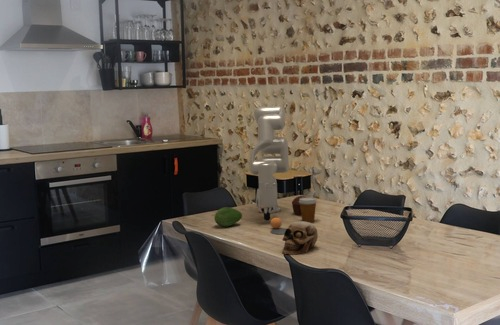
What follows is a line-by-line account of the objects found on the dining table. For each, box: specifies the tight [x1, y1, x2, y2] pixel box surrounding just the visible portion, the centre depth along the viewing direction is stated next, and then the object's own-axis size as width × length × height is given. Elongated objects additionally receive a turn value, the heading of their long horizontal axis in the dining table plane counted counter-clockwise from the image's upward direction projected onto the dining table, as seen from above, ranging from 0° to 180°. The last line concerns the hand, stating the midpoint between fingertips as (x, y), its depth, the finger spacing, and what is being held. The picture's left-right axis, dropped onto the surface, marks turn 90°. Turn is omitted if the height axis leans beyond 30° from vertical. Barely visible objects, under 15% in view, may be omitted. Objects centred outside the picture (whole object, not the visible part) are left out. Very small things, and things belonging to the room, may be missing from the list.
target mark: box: [269, 227, 288, 236], centre depth 314 cm, size 12×12×1 cm
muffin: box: [291, 195, 306, 217], centre depth 351 cm, size 12×11×10 cm
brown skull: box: [281, 221, 319, 256], centre depth 280 cm, size 16×17×13 cm
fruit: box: [214, 206, 243, 228], centre depth 330 cm, size 15×10×10 cm, turn 115°
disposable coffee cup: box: [299, 196, 318, 223], centre depth 334 cm, size 10×10×12 cm
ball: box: [270, 217, 282, 229], centre depth 320 cm, size 6×6×6 cm
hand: (267, 220), depth 333 cm, fingers closed
